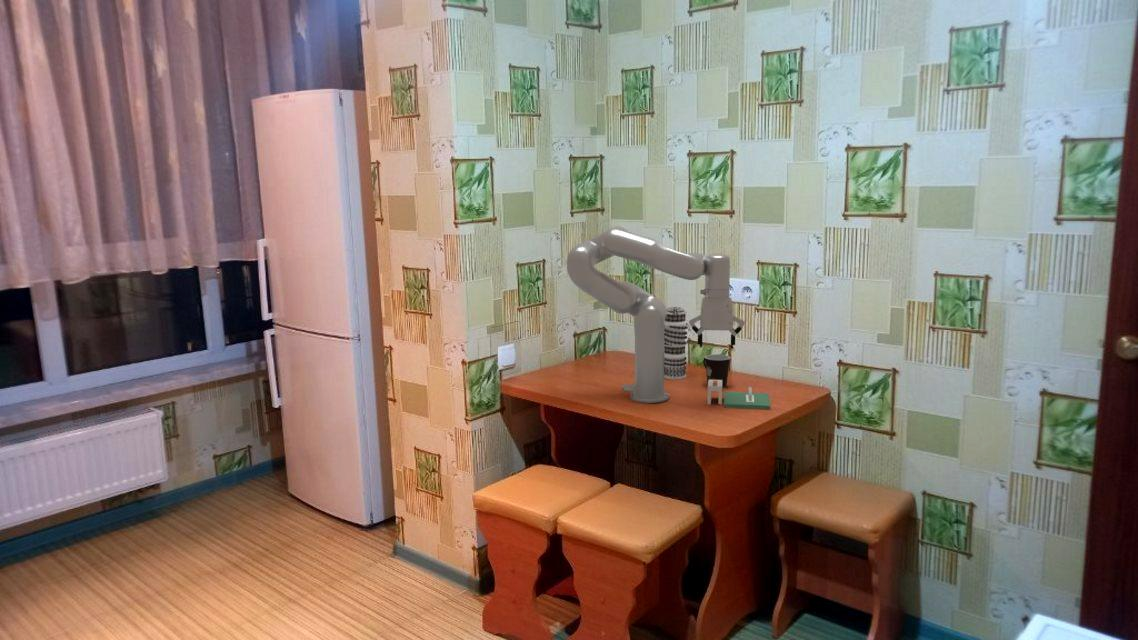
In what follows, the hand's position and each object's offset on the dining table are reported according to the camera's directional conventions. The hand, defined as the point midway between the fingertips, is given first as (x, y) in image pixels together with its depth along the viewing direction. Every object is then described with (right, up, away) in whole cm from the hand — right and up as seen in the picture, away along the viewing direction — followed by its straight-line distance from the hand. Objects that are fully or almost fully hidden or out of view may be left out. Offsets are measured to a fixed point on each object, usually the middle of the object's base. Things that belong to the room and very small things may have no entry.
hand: (716, 346), depth 249 cm
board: (+10, -18, +1) cm, 20 cm away
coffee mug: (+4, -14, +23) cm, 27 cm away
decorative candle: (-9, -12, +34) cm, 37 cm away
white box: (0, -18, +3) cm, 18 cm away
